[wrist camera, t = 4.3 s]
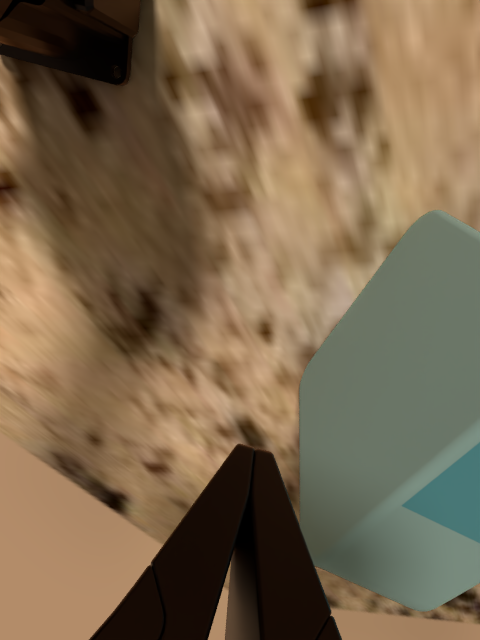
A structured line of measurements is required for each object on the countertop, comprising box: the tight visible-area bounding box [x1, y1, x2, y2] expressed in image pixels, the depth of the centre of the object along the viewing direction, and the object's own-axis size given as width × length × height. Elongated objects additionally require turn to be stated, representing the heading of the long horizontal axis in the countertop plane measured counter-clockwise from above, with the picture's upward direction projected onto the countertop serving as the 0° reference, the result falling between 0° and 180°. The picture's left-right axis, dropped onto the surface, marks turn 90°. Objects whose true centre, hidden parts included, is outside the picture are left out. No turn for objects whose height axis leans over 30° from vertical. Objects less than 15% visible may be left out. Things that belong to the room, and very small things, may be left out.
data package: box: [299, 210, 480, 611], centre depth 15 cm, size 12×4×12 cm, turn 154°
